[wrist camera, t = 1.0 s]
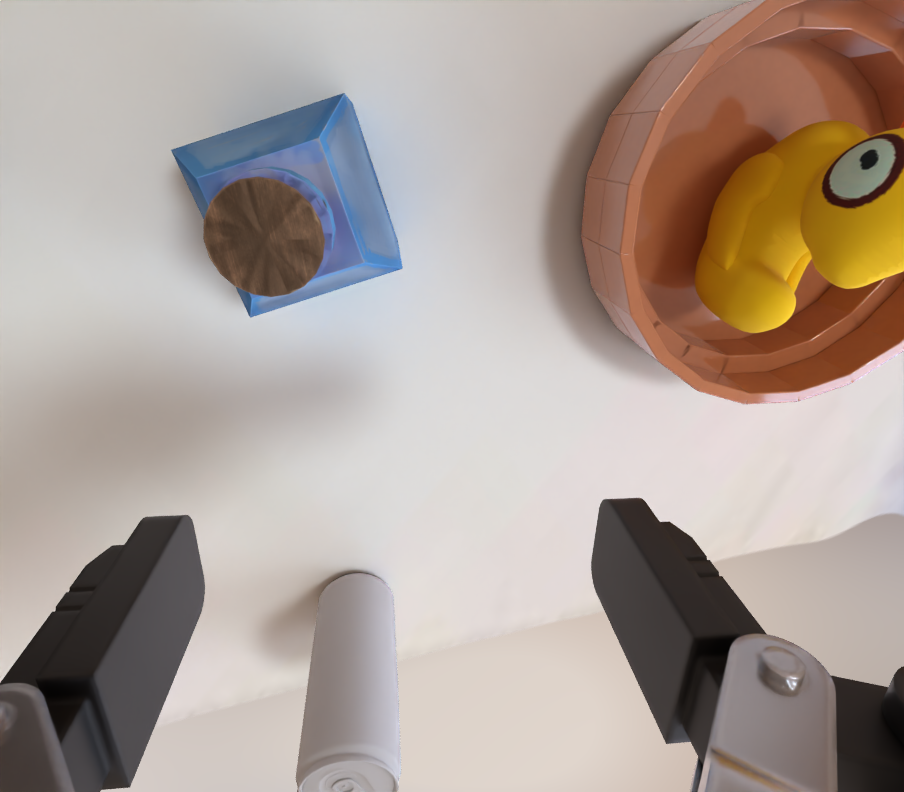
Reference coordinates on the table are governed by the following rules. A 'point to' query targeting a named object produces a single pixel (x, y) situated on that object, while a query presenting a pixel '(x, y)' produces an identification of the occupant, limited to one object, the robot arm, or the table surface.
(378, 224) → the perfume bottle
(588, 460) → the table surface
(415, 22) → the table surface
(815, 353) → the bowl
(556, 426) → the table surface
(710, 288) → the duckling
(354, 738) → the beverage can
